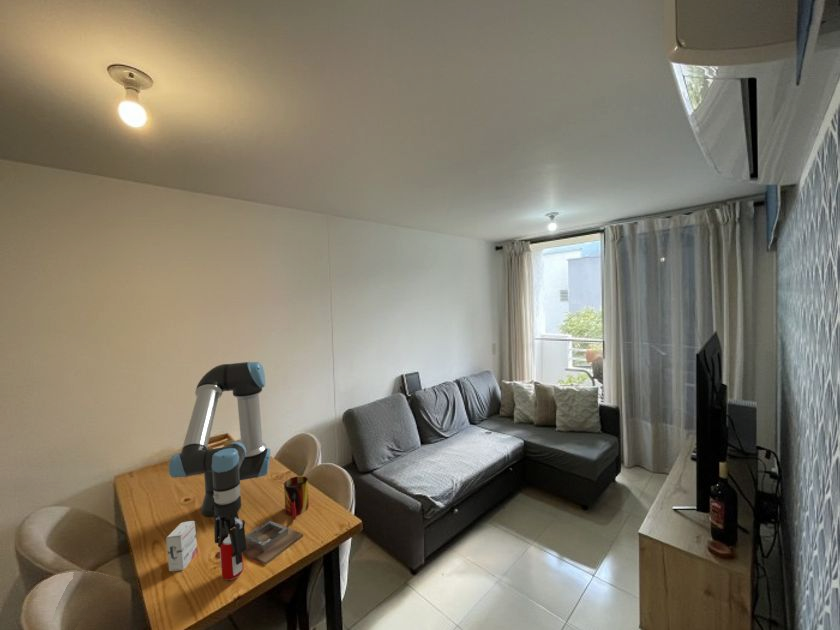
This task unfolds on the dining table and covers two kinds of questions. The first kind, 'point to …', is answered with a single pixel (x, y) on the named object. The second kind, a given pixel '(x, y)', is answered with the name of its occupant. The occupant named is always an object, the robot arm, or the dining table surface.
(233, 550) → the robot arm
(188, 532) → the ink box
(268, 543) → the steel collar
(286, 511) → the mug
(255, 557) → the walnut plate
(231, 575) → the beverage can
